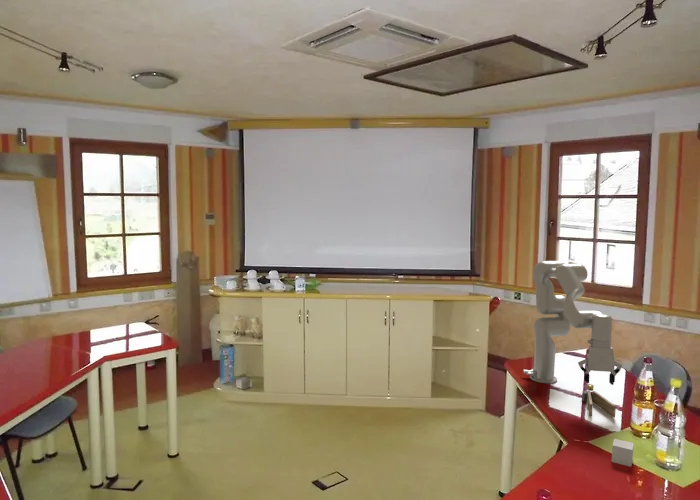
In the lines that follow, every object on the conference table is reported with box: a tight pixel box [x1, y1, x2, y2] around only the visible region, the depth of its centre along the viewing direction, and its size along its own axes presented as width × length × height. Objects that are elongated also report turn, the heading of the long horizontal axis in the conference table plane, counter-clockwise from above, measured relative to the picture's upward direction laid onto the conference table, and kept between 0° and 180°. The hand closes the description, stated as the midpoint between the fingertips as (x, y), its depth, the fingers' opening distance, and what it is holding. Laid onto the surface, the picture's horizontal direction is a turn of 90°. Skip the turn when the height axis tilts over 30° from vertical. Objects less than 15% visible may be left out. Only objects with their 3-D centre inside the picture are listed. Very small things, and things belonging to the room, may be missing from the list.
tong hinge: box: [581, 390, 594, 404], centre depth 228 cm, size 5×3×4 cm, turn 80°
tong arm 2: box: [592, 390, 617, 419], centre depth 217 cm, size 1×16×5 cm, turn 2°
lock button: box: [586, 383, 595, 392], centre depth 227 cm, size 3×3×2 cm
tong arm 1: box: [586, 390, 594, 417], centre depth 218 cm, size 1×16×5 cm, turn 158°
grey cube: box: [611, 438, 635, 467], centre depth 175 cm, size 6×6×6 cm
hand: (599, 383), depth 216 cm, fingers open, 9 cm apart
